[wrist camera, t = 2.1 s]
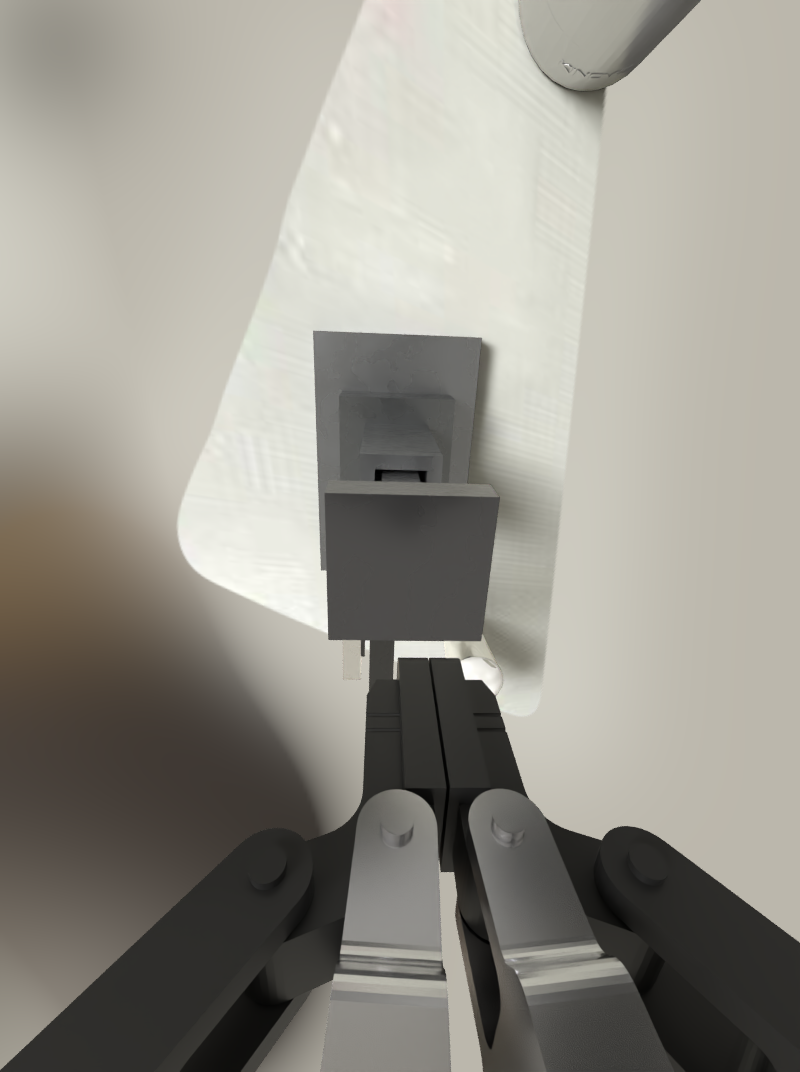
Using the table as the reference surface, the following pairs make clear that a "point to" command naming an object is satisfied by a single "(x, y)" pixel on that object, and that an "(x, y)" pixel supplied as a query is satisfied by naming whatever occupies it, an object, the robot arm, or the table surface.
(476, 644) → the milkshake
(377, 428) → the gauge stand
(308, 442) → the table surface
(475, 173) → the table surface
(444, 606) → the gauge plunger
